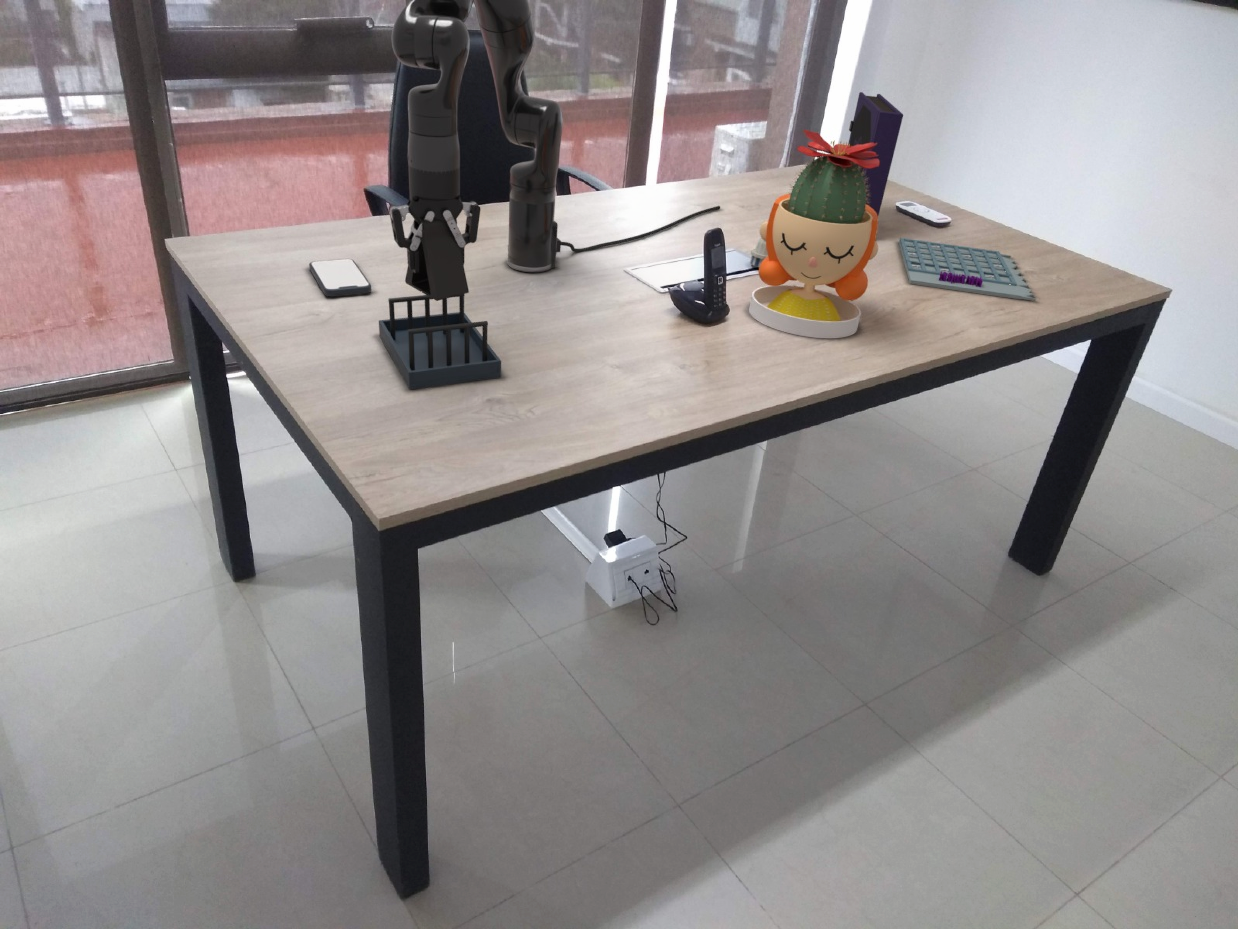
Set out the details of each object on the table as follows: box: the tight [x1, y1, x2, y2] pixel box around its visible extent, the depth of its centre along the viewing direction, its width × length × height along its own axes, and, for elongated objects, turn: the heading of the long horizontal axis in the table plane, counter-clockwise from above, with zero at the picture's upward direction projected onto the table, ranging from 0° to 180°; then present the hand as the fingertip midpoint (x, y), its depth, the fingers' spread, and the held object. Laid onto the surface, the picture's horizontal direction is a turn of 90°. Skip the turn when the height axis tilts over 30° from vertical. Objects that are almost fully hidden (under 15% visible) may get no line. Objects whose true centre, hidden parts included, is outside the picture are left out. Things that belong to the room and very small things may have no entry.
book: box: [847, 91, 904, 217], centre depth 227 cm, size 24×6×30 cm, turn 179°
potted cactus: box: [748, 129, 879, 339], centre depth 172 cm, size 22×22×35 cm
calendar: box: [898, 237, 1037, 302], centre depth 212 cm, size 27×29×2 cm
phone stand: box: [404, 218, 470, 302], centre depth 143 cm, size 9×6×12 cm, turn 44°
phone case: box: [308, 258, 372, 297], centre depth 175 cm, size 9×2×16 cm
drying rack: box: [378, 294, 502, 390], centre depth 150 cm, size 15×20×8 cm
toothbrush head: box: [749, 237, 768, 268], centre depth 207 cm, size 5×7×25 cm
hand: (436, 269), depth 144 cm, fingers closed on phone stand, 6 cm apart
